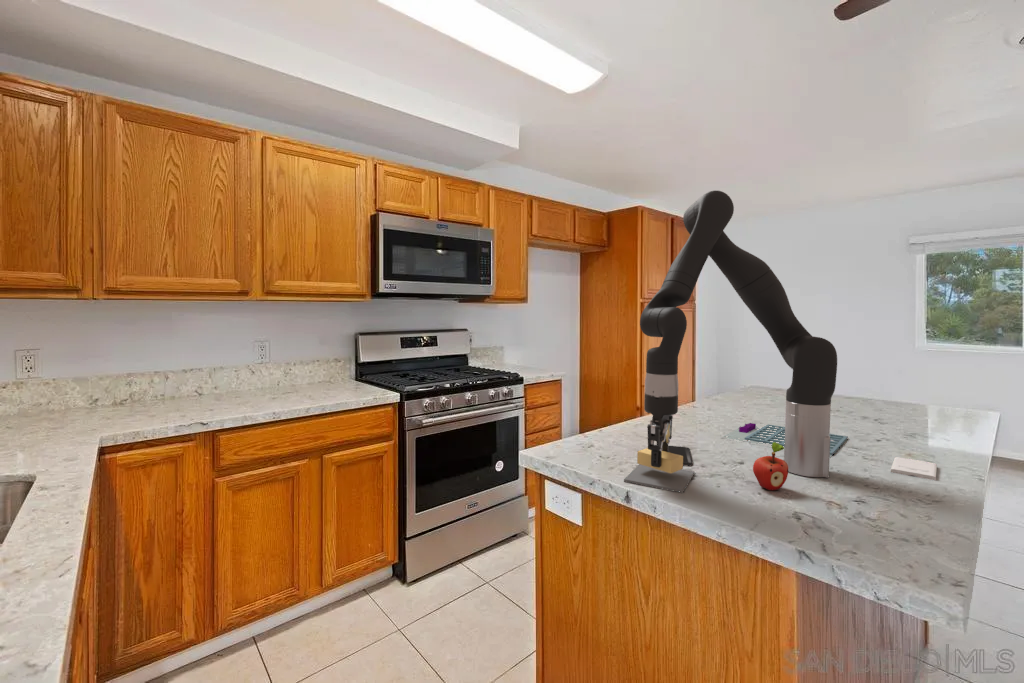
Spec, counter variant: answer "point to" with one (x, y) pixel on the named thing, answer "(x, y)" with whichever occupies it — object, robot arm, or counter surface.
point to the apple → (771, 470)
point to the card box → (668, 460)
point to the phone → (682, 453)
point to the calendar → (751, 434)
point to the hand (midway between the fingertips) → (659, 462)
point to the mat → (660, 478)
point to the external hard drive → (914, 468)
